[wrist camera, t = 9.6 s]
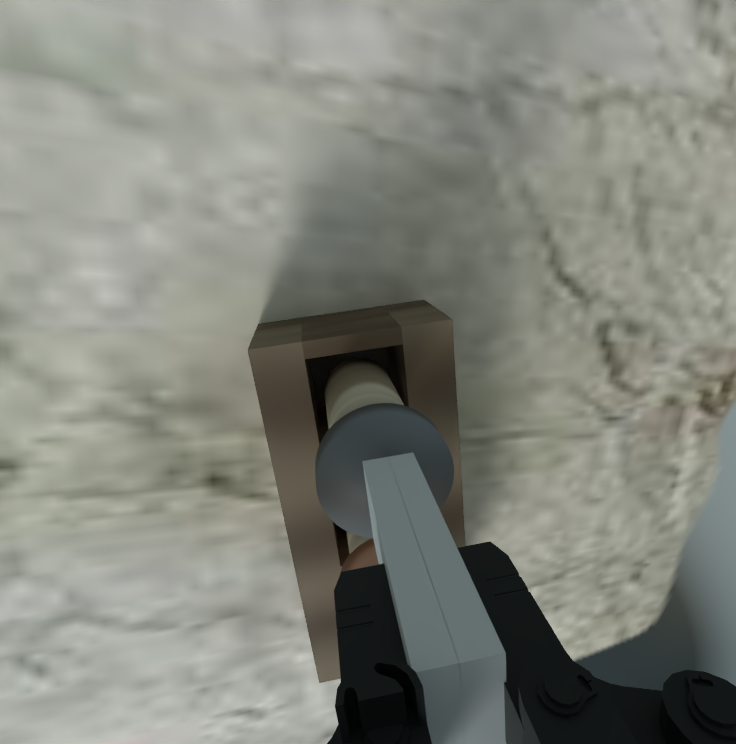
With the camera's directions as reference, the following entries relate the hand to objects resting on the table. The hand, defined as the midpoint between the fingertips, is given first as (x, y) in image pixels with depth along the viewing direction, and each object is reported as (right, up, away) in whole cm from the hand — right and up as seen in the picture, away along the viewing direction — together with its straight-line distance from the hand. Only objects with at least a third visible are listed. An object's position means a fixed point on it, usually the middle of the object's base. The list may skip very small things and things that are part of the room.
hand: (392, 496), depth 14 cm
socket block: (-1, -2, +14) cm, 15 cm away
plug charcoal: (-1, +3, +8) cm, 9 cm away
